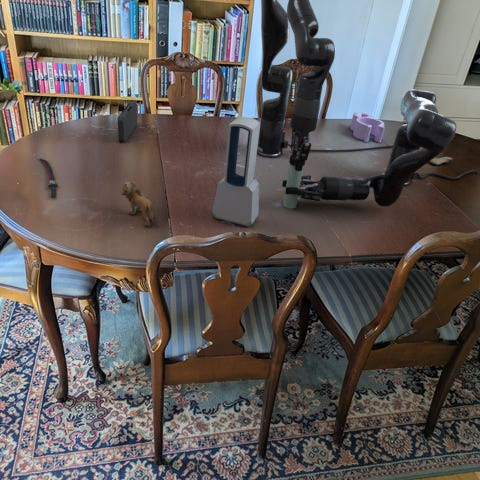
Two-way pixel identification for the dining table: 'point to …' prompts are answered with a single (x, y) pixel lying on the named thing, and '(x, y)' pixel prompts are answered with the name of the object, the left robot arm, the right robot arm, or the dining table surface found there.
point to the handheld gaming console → (127, 121)
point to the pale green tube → (292, 181)
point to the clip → (367, 127)
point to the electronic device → (239, 178)
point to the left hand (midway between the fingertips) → (296, 166)
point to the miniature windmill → (293, 83)
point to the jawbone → (440, 160)
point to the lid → (294, 159)
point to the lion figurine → (137, 201)
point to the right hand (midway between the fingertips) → (284, 187)
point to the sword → (52, 181)
